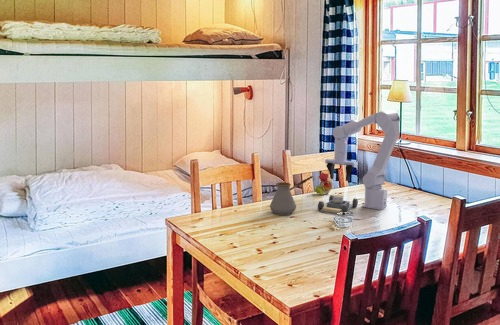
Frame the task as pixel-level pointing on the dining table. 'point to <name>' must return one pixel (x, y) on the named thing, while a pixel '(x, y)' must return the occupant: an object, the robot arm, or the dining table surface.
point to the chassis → (336, 206)
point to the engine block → (338, 199)
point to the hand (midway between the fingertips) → (339, 179)
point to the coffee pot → (284, 198)
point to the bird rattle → (326, 182)
